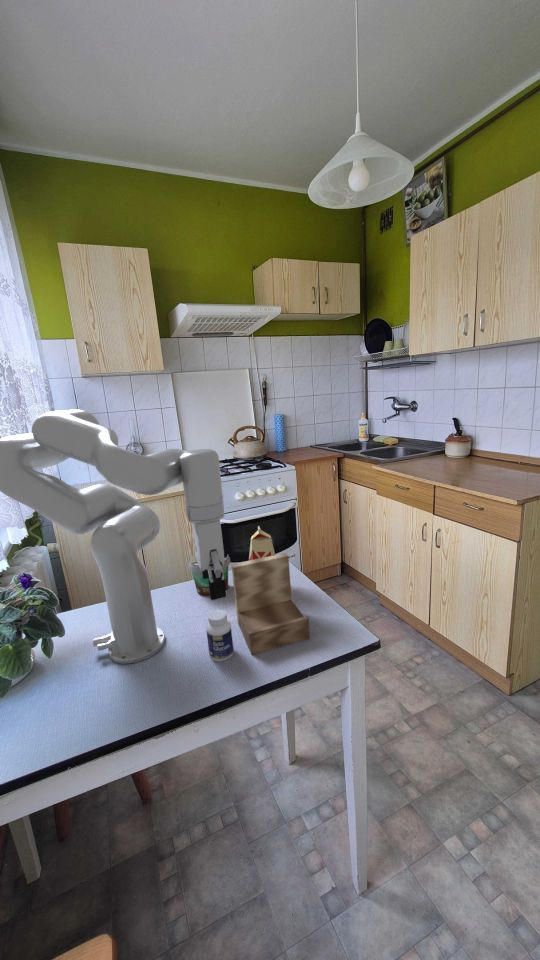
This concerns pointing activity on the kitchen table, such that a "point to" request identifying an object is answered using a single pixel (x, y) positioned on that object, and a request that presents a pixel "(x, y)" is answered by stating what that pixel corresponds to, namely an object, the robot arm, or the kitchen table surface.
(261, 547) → the milk carton
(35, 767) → the kitchen table surface
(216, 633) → the pill bottle
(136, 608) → the robot arm
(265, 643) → the cardboard holder
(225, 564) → the food container
